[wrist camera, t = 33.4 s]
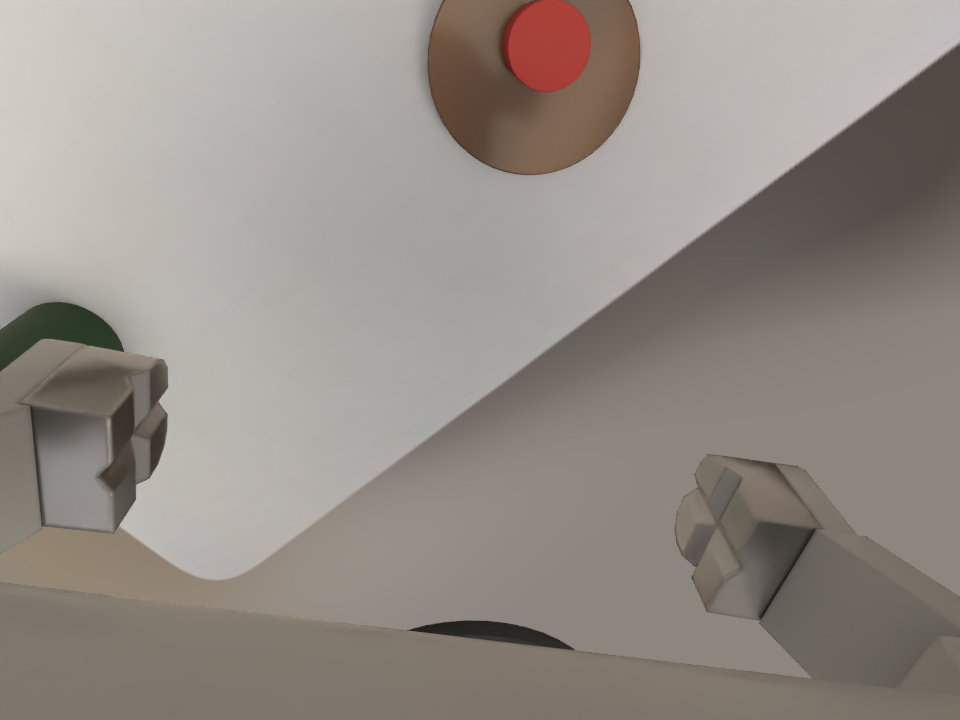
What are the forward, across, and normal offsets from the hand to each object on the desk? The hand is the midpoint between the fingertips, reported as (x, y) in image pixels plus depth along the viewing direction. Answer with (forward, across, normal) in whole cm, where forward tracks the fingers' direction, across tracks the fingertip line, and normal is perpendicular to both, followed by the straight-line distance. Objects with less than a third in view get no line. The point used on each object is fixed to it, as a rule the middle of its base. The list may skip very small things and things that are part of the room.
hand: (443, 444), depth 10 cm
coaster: (+29, -4, -4) cm, 30 cm away
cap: (+28, -4, -5) cm, 29 cm away
